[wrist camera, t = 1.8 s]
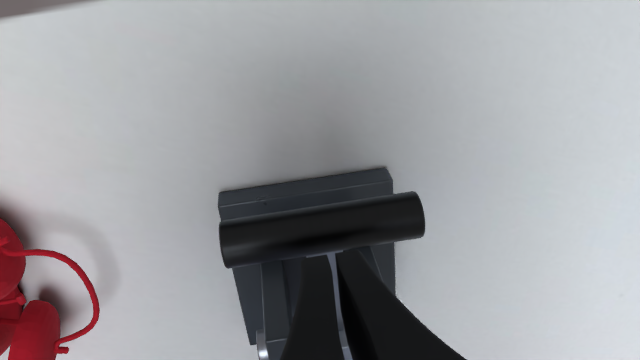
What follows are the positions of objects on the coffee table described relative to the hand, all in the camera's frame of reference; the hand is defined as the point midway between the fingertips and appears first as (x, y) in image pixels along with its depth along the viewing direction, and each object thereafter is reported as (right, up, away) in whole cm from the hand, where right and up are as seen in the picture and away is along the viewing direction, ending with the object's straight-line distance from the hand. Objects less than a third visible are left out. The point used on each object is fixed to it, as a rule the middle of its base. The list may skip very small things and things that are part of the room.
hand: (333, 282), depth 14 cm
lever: (0, -1, +6) cm, 6 cm away
